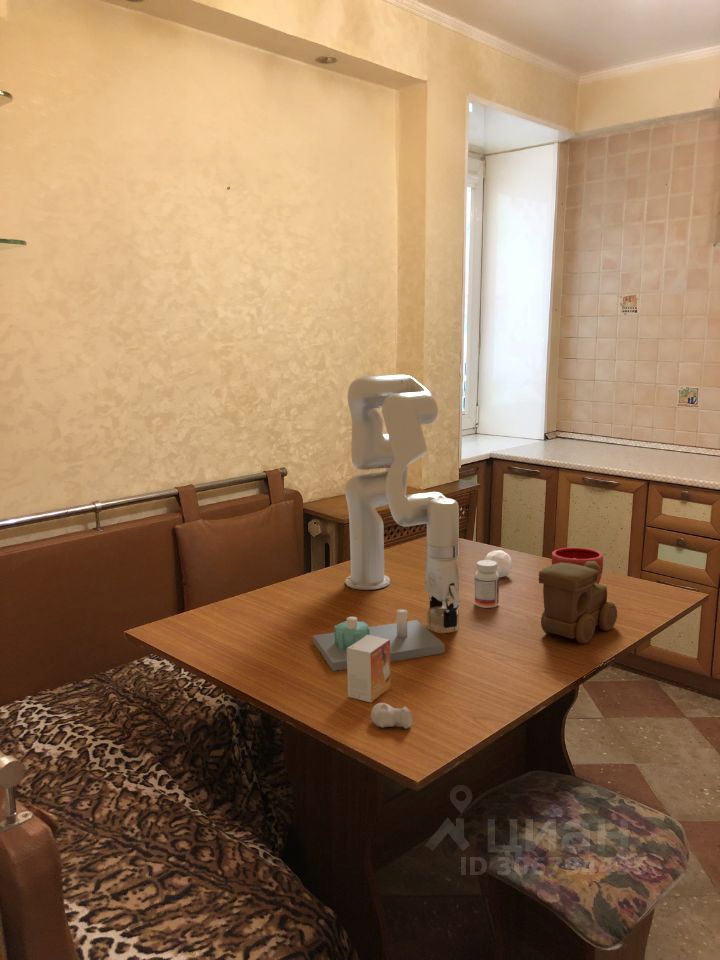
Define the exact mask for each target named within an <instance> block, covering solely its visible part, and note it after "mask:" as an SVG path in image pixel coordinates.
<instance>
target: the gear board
mask: <svg viewBox="0 0 720 960" xmlns="http://www.w3.org/2000/svg"><path fill="white" fill-rule="evenodd" d="M366 635H371V636H376V637H381V638H385V639H389V640H390V663H391V662H399V661H404V660H411V659H416V658H417V659H418V658H423V657H428V656H433V655H434V656H435V655H440V654H444V653H446V647H445V646H446V645H445V643H444V642H443V641H442V640H440V639H439V638H438V637H437V636H436V635H435V634H433V632H432V631H431V630H428V629H427V627H426V626H424V625H423V624H422V623H421V622H420V621H419V620H417V619H414V620H413V619H412V620H408V610H407V609H397V610H396V622H394V623H388V624H387V623H386V624H382V625H374V626H369V625H368V624H367V623H366V622H365V621H360V620H359V621H358V617H357V616H348V617H346V621H343V622H340V623H339V624H335V626H334V632H329V633H322V634H316V635H314V634H313V635H312V640H313V641H312V642H314V644H315V645H316V647H317V648H318V650H319V651H320V652H321V654H322V655H323V656H322V655H321V654H320V655H321V656H322V658H323V657H324V658H325V659H324V658H323V659H324V660H326V661H327V662H326V661H325V662H326V663H327V665H328V664H329V665H330V666H329V665H328V666H329V667H331V670H332V672H338V671H337V670H339V671H343V669H345V670H347V647H349V646H351V645H353V644H354V643H356V642H357V641H359V640H361V639H362V638H364V637H365V636H366ZM314 644H313V645H314ZM315 645H314V646H315ZM316 647H315V648H316ZM317 648H316V649H317ZM318 650H317V651H318ZM319 651H318V652H319ZM320 652H319V653H320Z"/></svg>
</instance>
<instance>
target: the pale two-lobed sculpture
mask: <svg viewBox="0 0 720 960" xmlns="http://www.w3.org/2000/svg"><path fill="white" fill-rule="evenodd" d="M412 715H413V714H412V711H411V710H410V709H409V708H408V707H406V706H403V707H402V708H395V707H393V706H391V705H390V704H388V703H386V702H378V703H375V704H374V706H373V707H372V709H371V712H370V719H371V720H372V722H373V724H374V725H375V726H377V727H380V728H388V727H395V725H400V726H402V727H403V728H404V729H409V728H410V727H412V725H413V717H412Z"/></svg>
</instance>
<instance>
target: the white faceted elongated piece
mask: <svg viewBox="0 0 720 960" xmlns="http://www.w3.org/2000/svg"><path fill="white" fill-rule="evenodd" d="M484 560H491V561H495V562H496V563H497V571H496V572H497V573H498V574H499V578H503V577H506V576H507V575H509V573H510V572H511V570H512V568H513V560H512V558H511V556H510V555H509V554H508V553H506V552H505V551H503V550H502V549H499V550H492V551H490V552H488V553H487V555H486V556H485V558H484Z"/></svg>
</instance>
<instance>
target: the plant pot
mask: <svg viewBox="0 0 720 960" xmlns="http://www.w3.org/2000/svg"><path fill="white" fill-rule="evenodd" d="M587 561H595V562H597V564H598V565H599V567H600V568H601V570H602V571H601V573H600V575H599V577H598V582H596V583H597V584H600V582H601V579H602V574H603V570H604V569H603V568H604V555H603V553H602V552H600V551H598V550H596V549H591V548H585V547H584V548H582V547H562V548H558V549H555V550H553V551H552V552H551V565H553V564H557V563H570V564H576V565H580V566H584V565H585V563H586V562H587Z"/></svg>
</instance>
